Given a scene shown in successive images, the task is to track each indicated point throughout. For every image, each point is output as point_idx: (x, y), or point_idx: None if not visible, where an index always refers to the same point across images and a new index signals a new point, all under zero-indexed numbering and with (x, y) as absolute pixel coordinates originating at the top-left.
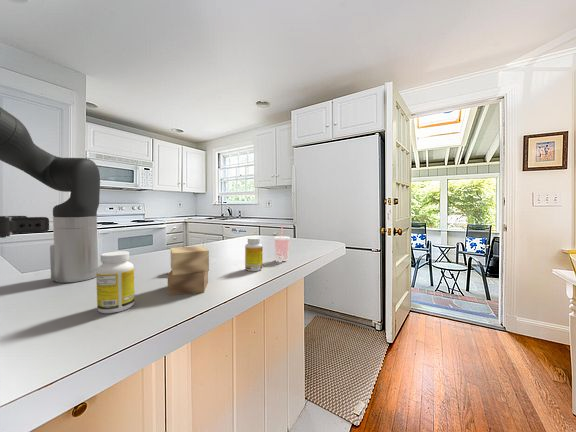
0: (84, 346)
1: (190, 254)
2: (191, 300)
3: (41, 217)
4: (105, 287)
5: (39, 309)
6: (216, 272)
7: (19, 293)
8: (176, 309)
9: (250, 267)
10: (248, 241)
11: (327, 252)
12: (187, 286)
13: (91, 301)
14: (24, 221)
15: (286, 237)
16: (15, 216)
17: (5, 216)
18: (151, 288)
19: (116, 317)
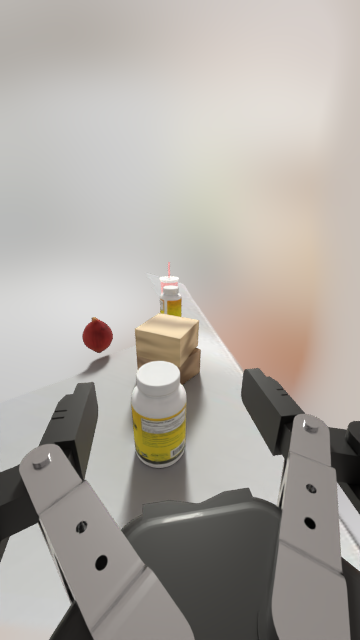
0: None
1: (190, 332)
2: (213, 388)
3: (263, 374)
4: (176, 431)
5: (28, 542)
6: None
7: None
8: (230, 407)
9: None
10: (168, 292)
11: (183, 285)
12: (187, 373)
13: (91, 462)
14: (296, 406)
15: (173, 278)
16: (88, 398)
17: (316, 423)
18: (123, 394)
19: (201, 459)
